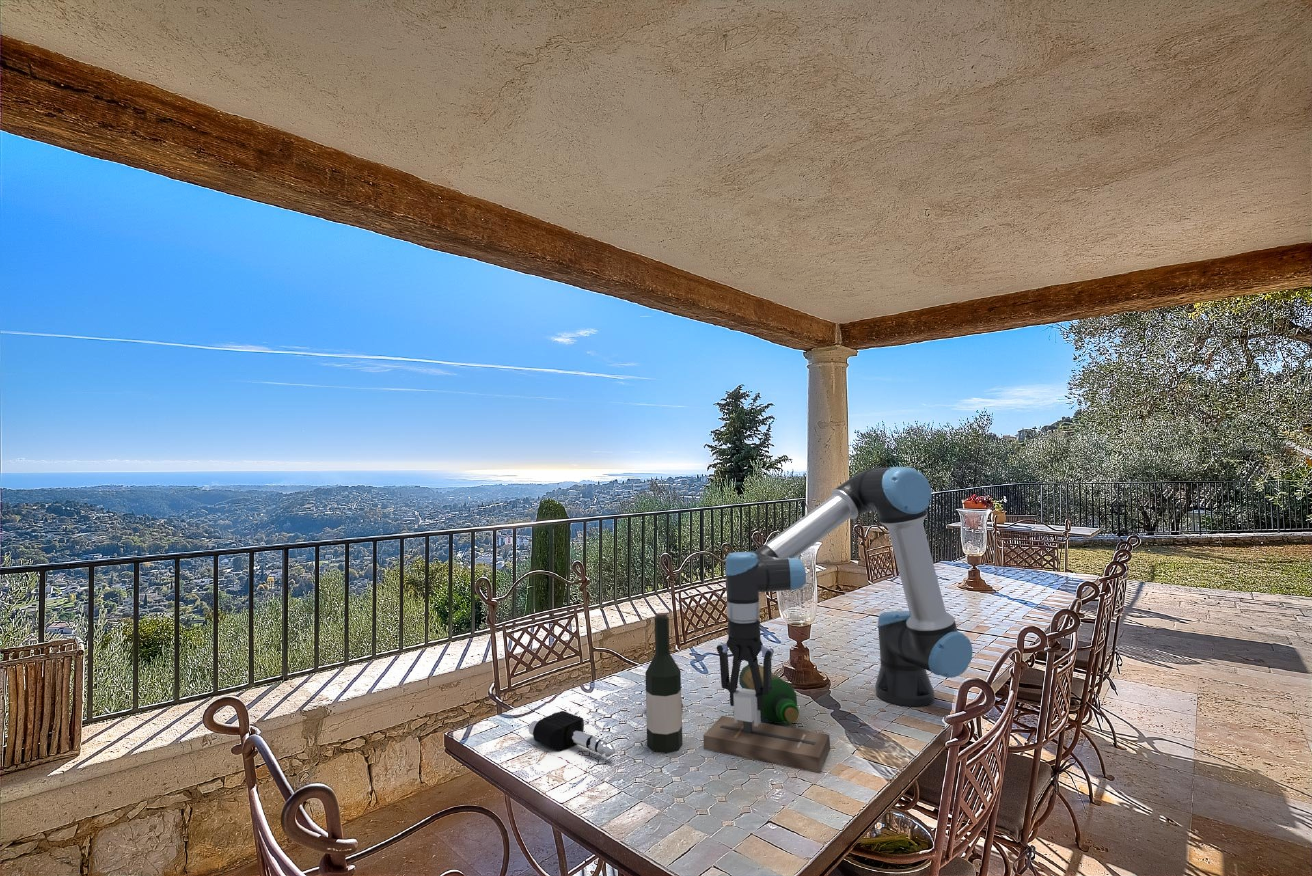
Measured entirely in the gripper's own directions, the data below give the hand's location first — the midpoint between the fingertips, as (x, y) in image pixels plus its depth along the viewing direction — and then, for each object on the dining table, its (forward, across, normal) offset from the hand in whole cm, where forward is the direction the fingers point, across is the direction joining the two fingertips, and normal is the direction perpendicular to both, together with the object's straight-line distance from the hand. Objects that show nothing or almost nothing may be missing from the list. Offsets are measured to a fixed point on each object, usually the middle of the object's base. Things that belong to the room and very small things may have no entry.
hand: (747, 721), depth 131 cm
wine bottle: (+5, +18, +8) cm, 20 cm away
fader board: (+5, -4, 0) cm, 7 cm away
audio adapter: (+5, +36, +17) cm, 40 cm away
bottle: (0, +8, -30) cm, 31 cm away
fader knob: (+2, 0, 0) cm, 2 cm away
